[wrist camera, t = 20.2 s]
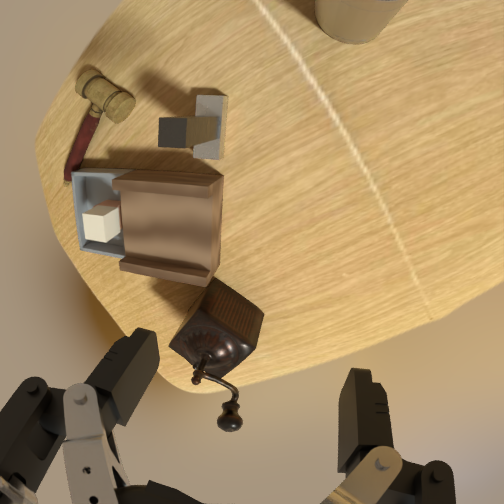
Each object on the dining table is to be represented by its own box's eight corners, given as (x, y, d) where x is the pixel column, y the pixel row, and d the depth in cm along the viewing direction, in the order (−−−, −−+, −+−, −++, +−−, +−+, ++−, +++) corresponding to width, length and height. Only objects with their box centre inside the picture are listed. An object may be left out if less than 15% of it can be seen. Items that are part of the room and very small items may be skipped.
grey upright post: (203, 95, 38) (158, 90, 26) (228, 96, 38) (192, 89, 26) (199, 155, 42) (155, 173, 30) (223, 157, 42) (187, 176, 30)
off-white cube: (97, 205, 43) (82, 213, 40) (118, 207, 43) (103, 216, 39) (100, 229, 45) (85, 239, 41) (120, 232, 44) (105, 242, 41)
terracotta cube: (126, 201, 47) (106, 199, 47) (112, 208, 43) (92, 206, 43) (127, 224, 48) (108, 222, 49) (114, 233, 45) (95, 230, 45)
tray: (84, 167, 46) (71, 172, 43) (135, 169, 44) (123, 173, 41) (91, 242, 52) (80, 250, 49) (139, 250, 51) (129, 259, 47)
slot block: (137, 169, 44) (111, 179, 38) (223, 175, 43) (208, 186, 36) (141, 251, 50) (120, 270, 44) (219, 264, 49) (206, 287, 42)
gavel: (74, 207, 46) (41, 174, 45) (90, 198, 50) (58, 167, 49) (123, 99, 36) (82, 68, 35) (141, 97, 40) (100, 68, 38)
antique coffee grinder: (183, 315, 55) (140, 386, 39) (215, 275, 50) (172, 350, 34) (252, 361, 56) (230, 439, 40) (290, 329, 52) (277, 414, 36)
